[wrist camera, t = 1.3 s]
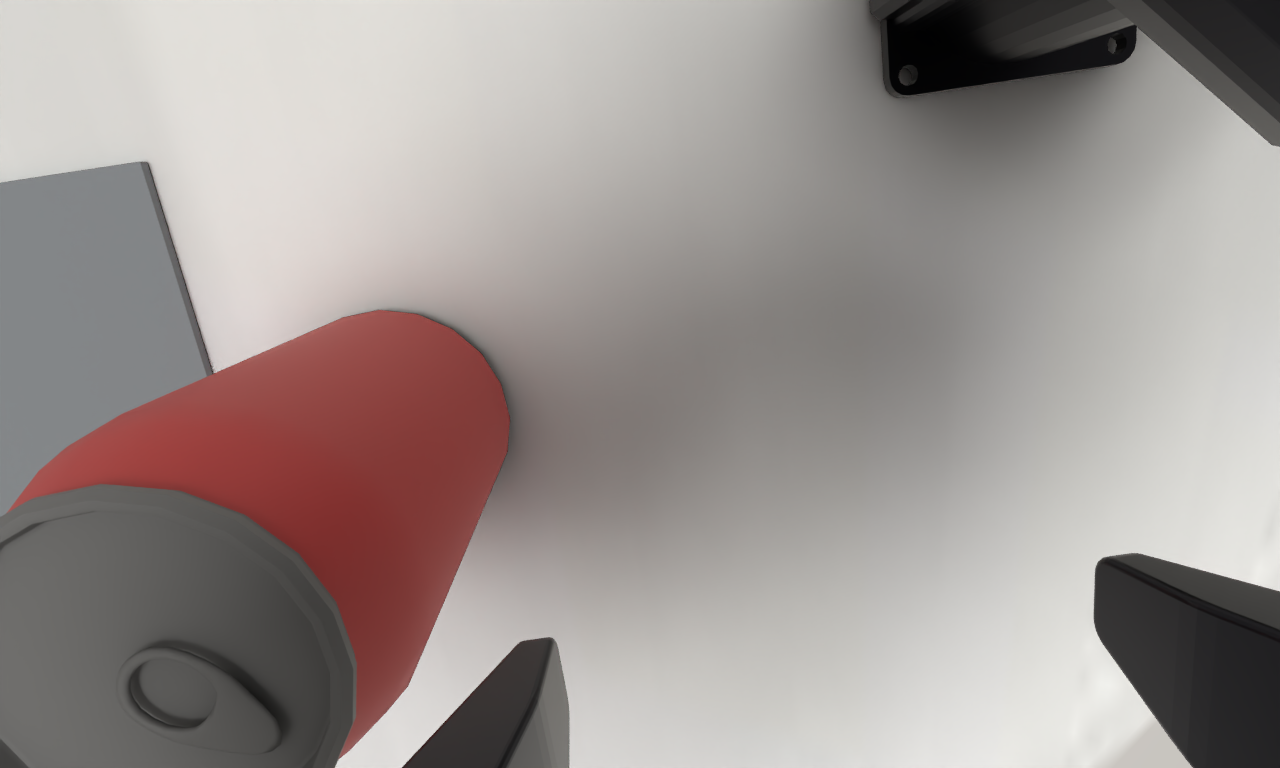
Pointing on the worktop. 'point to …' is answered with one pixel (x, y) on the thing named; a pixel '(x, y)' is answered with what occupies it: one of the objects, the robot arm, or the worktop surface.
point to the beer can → (247, 555)
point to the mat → (85, 312)
